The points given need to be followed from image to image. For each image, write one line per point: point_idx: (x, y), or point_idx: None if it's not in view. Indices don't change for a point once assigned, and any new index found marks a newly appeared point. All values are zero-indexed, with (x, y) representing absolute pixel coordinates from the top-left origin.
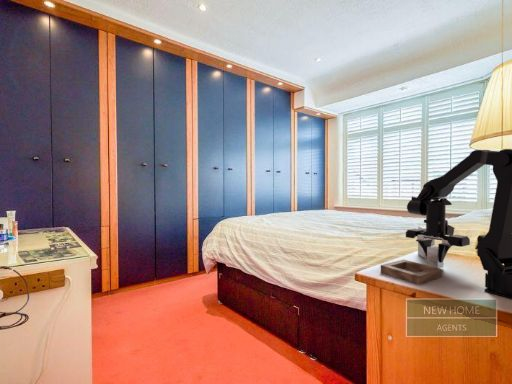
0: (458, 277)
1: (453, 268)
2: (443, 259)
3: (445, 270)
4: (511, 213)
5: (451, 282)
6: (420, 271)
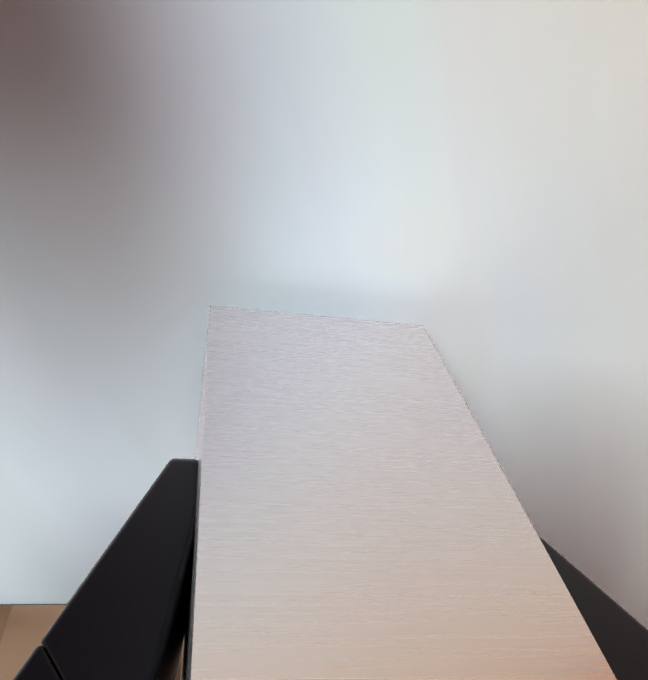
0: (633, 496)
1: (553, 77)
2: None
3: (452, 337)
4: None
5: None
6: None
